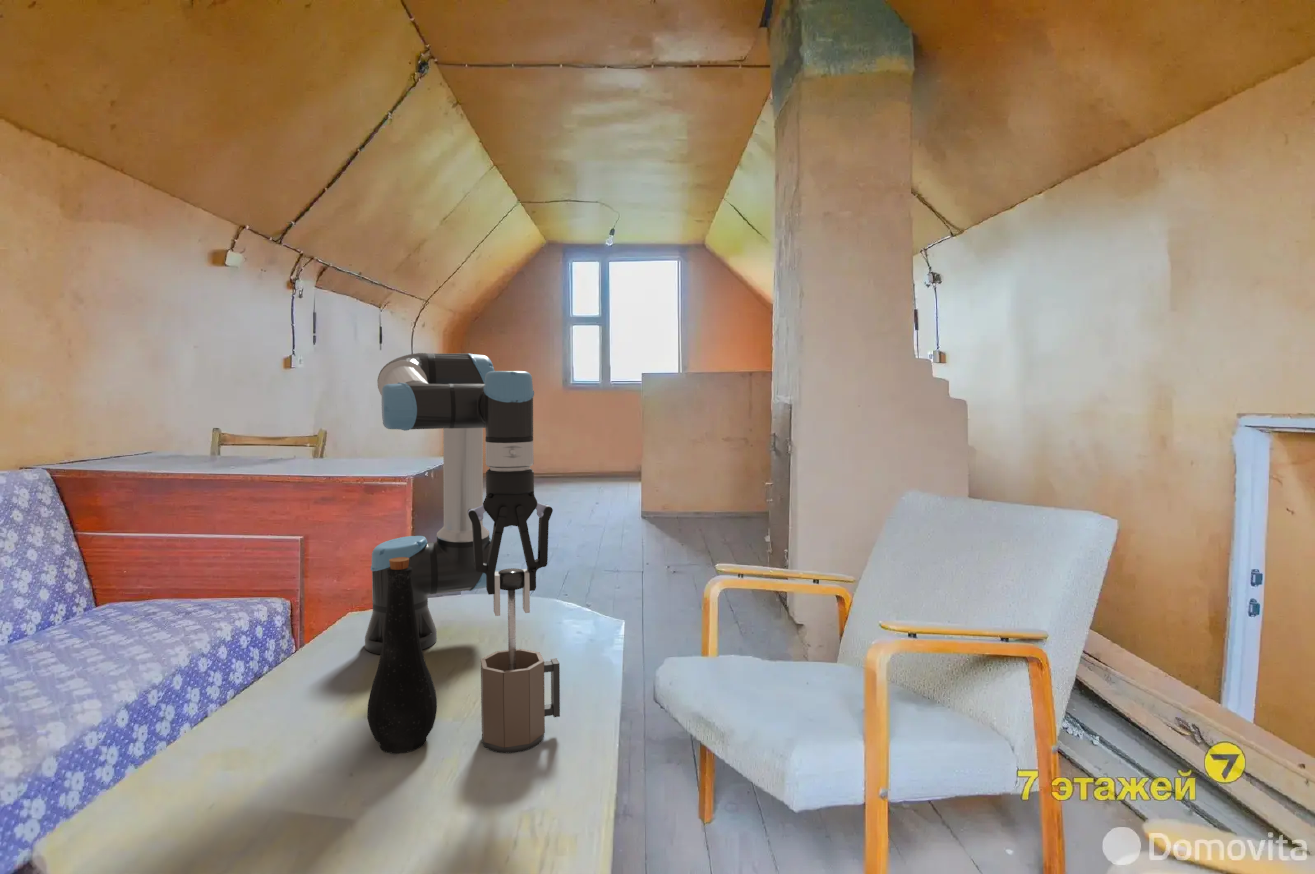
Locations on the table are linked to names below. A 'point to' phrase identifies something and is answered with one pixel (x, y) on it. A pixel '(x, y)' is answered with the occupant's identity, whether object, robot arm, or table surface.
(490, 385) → the robot arm
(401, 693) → the bottle
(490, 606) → the table surface
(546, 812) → the table surface
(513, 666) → the plunger
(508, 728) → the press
